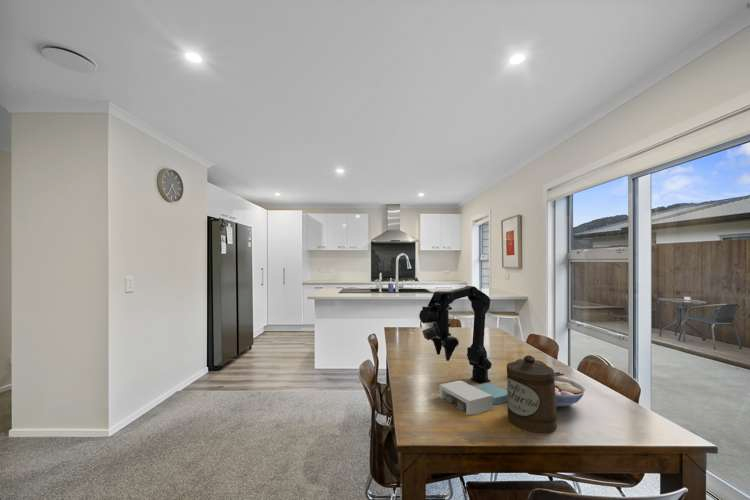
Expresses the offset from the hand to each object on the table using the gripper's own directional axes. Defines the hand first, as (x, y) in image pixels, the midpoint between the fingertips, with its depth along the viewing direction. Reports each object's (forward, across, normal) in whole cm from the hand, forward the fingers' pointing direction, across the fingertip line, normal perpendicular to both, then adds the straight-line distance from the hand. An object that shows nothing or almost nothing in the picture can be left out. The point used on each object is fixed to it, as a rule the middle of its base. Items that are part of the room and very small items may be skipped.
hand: (442, 357), depth 132 cm
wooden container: (+14, +31, +18) cm, 39 cm away
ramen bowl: (+14, +20, +36) cm, 43 cm away
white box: (+14, +13, +3) cm, 19 cm away
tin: (+15, -6, +48) cm, 51 cm away
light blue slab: (+14, +10, +17) cm, 24 cm away
